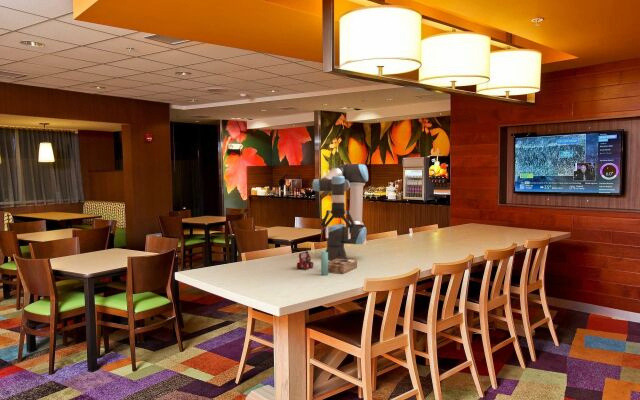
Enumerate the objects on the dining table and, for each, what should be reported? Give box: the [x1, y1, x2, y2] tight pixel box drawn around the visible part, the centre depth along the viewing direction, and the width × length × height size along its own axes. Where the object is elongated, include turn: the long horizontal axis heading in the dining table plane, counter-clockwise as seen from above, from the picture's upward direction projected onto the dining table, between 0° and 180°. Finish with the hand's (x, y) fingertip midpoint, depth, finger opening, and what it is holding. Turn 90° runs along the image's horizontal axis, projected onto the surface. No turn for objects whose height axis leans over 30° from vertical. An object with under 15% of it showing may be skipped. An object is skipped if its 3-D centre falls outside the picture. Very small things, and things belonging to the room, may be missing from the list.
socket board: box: [328, 259, 358, 275], centre depth 292 cm, size 14×20×5 cm
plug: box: [320, 251, 329, 276], centre depth 277 cm, size 4×4×13 cm
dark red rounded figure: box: [296, 250, 314, 271], centre depth 296 cm, size 7×12×10 cm, turn 151°
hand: (338, 238), depth 281 cm, fingers open, 13 cm apart
